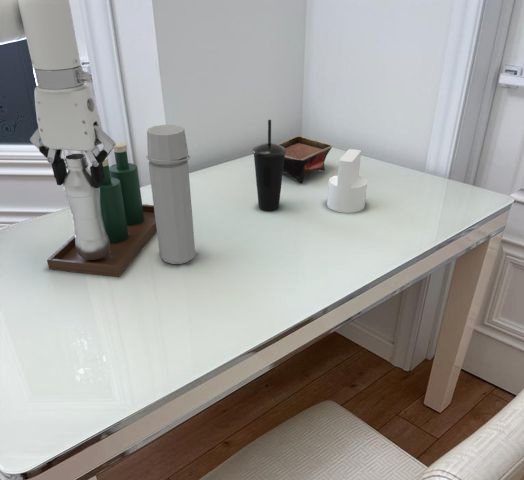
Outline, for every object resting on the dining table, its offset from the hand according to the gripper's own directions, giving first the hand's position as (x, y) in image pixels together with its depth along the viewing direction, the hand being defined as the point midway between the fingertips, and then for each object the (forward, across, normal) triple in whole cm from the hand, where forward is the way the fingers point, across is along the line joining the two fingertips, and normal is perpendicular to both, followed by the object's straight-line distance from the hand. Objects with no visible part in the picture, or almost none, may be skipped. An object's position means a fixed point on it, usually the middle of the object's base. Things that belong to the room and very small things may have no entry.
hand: (80, 183), depth 102 cm
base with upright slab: (+16, -47, -38) cm, 63 cm away
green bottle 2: (+15, 0, -9) cm, 18 cm away
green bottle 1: (+15, 0, -18) cm, 23 cm away
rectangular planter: (+16, -32, -58) cm, 68 cm away
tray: (+16, 0, -9) cm, 18 cm away
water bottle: (+16, -16, -5) cm, 23 cm away
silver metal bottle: (+15, 0, 0) cm, 15 cm away
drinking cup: (+16, -29, -33) cm, 47 cm away
